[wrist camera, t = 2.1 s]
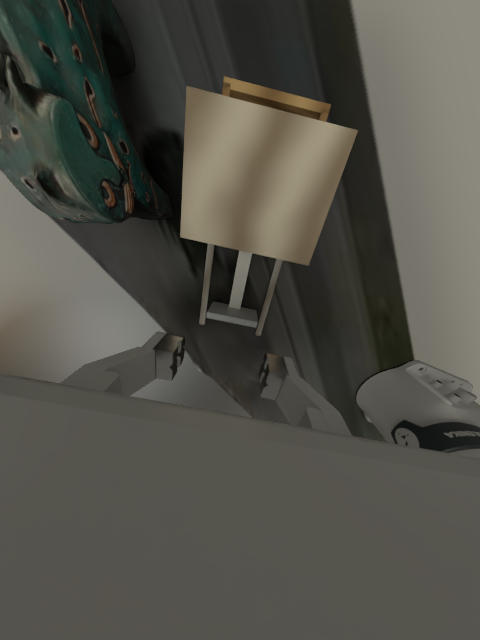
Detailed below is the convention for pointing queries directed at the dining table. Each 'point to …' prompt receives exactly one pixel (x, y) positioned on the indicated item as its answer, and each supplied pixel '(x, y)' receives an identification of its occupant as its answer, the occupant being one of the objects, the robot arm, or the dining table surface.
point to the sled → (236, 298)
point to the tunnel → (259, 174)
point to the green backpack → (70, 113)
